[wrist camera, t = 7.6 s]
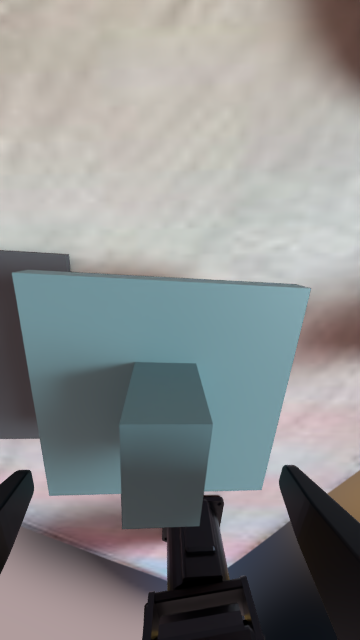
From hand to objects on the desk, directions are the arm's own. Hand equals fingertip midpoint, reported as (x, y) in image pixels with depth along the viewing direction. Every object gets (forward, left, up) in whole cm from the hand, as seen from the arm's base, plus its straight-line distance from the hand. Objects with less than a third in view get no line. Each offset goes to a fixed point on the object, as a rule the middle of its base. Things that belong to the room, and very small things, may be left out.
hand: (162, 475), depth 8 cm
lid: (0, 0, -5) cm, 5 cm away
